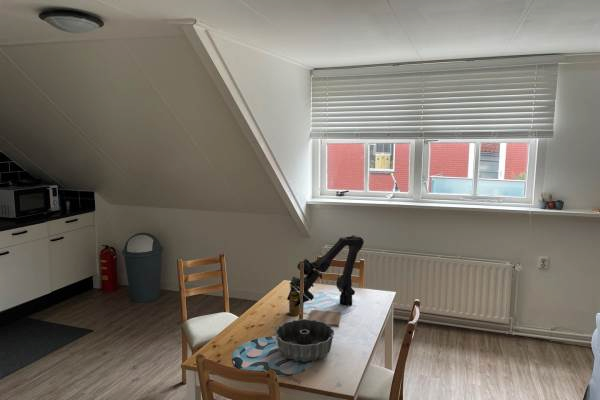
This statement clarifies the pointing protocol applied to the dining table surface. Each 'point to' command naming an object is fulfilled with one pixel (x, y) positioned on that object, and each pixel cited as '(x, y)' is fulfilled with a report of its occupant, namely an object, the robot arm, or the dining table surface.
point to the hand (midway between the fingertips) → (291, 302)
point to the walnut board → (326, 317)
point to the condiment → (293, 305)
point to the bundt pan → (304, 339)
